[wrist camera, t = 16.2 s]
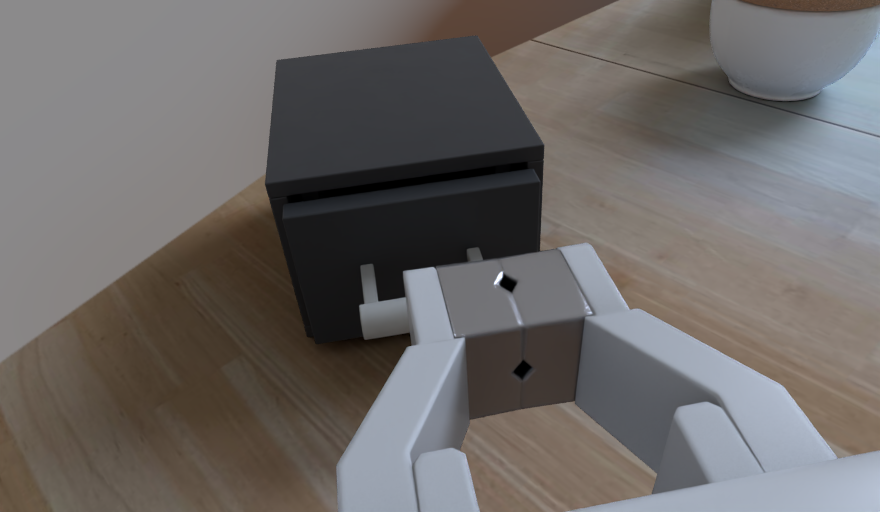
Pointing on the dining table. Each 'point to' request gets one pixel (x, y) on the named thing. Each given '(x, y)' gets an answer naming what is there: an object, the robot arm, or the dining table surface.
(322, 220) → the drawer
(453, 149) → the cabinet
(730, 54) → the lidded bowl
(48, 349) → the dining table surface
